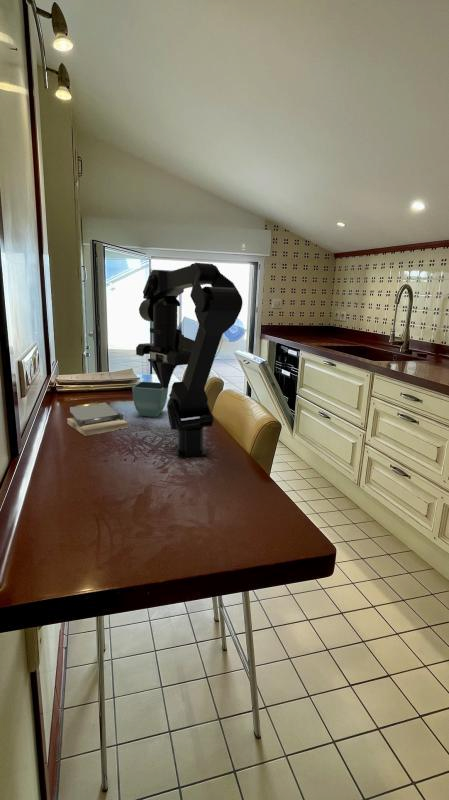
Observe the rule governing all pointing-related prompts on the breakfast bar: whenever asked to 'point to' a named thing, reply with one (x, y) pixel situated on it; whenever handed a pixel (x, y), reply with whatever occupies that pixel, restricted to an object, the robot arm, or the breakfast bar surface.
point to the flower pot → (149, 398)
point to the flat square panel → (94, 413)
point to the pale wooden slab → (98, 425)
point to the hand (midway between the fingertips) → (164, 387)
